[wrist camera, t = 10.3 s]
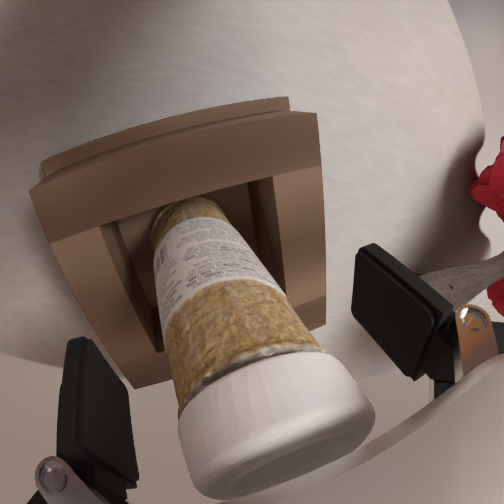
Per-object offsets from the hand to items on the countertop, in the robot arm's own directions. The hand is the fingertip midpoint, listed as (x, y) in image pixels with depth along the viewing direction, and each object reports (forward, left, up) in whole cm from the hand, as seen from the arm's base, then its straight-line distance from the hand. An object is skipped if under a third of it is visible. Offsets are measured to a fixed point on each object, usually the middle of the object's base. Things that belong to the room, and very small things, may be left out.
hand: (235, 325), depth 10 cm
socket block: (+1, 0, -10) cm, 10 cm away
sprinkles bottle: (0, 0, -9) cm, 9 cm away
